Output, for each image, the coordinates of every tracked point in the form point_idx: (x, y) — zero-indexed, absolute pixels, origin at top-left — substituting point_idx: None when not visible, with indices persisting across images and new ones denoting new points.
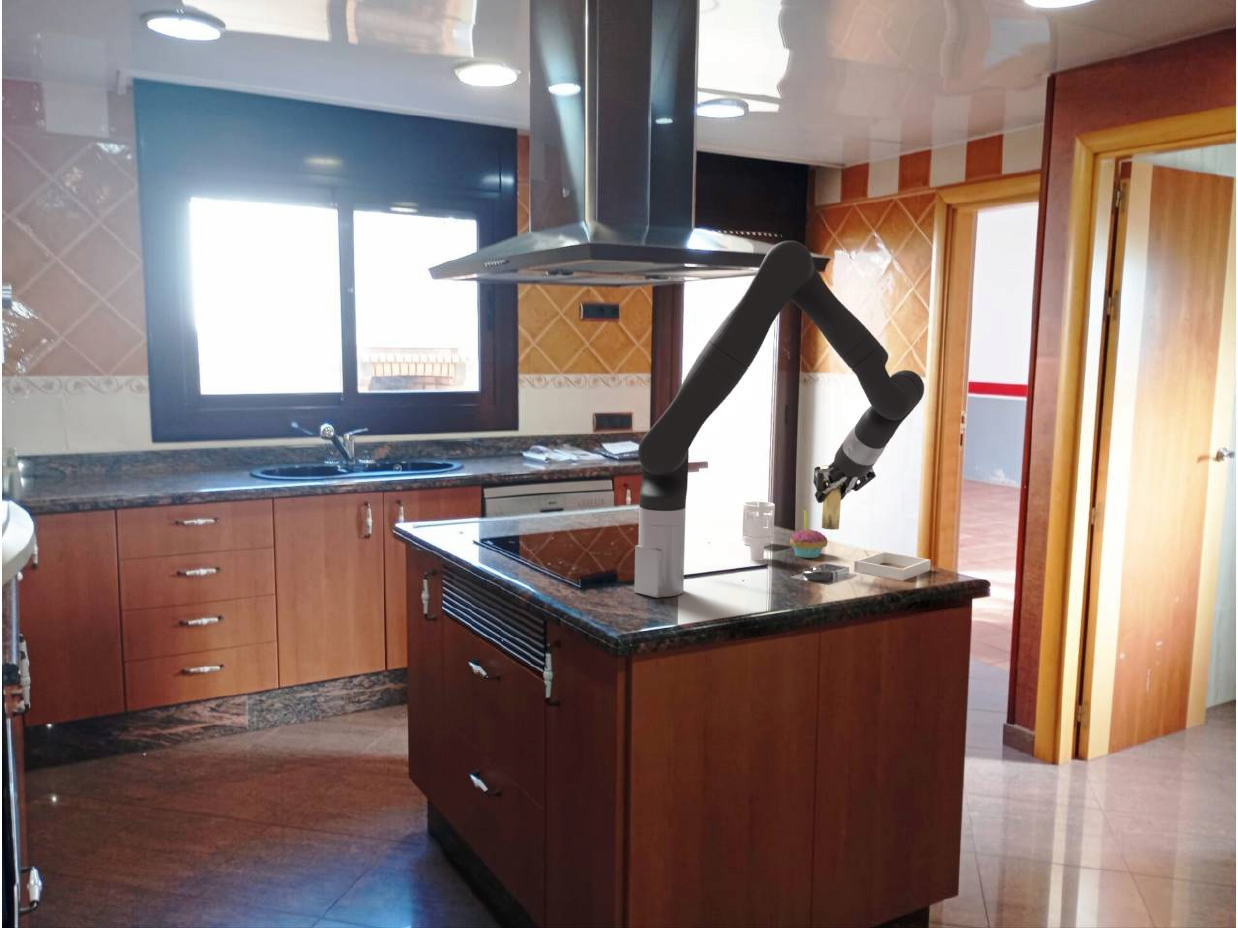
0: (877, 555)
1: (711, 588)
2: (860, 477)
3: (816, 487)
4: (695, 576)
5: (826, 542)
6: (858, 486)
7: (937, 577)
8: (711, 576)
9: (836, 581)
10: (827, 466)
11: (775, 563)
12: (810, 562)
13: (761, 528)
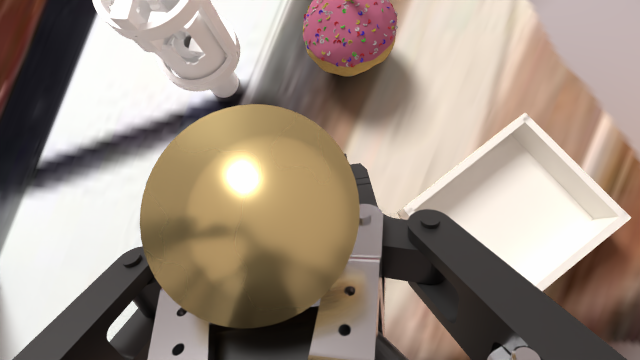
0: (493, 146)
1: (56, 273)
2: (470, 323)
3: (130, 318)
4: (65, 173)
5: (387, 52)
6: (433, 310)
7: (610, 241)
8: (95, 176)
9: (317, 303)
10: (192, 186)
11: (267, 80)
12: (347, 76)
13: (179, 63)
